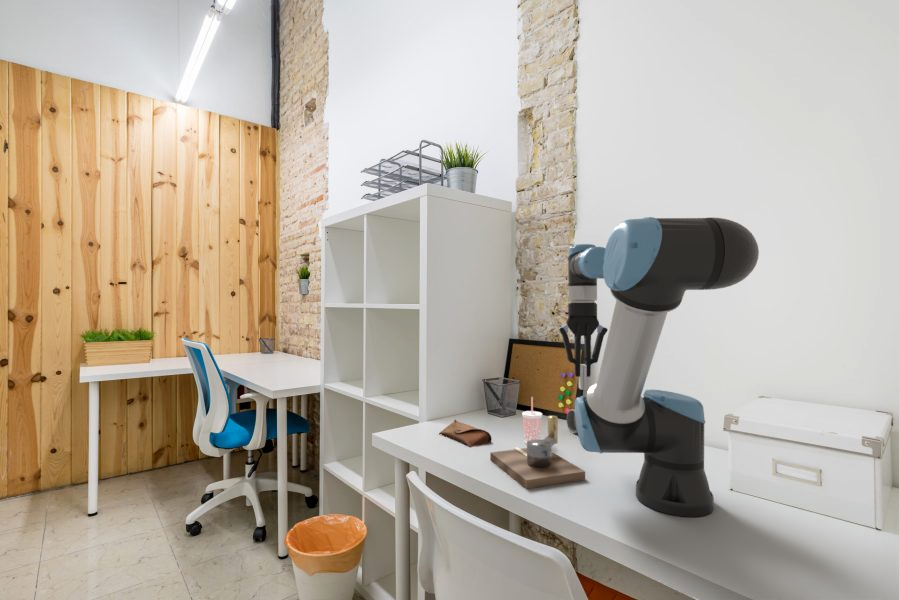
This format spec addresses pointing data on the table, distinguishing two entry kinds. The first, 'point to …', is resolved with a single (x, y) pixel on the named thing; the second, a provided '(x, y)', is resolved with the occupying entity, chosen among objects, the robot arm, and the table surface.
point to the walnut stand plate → (536, 469)
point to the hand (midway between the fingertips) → (582, 388)
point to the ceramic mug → (571, 421)
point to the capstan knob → (543, 446)
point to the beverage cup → (531, 424)
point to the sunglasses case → (466, 434)
